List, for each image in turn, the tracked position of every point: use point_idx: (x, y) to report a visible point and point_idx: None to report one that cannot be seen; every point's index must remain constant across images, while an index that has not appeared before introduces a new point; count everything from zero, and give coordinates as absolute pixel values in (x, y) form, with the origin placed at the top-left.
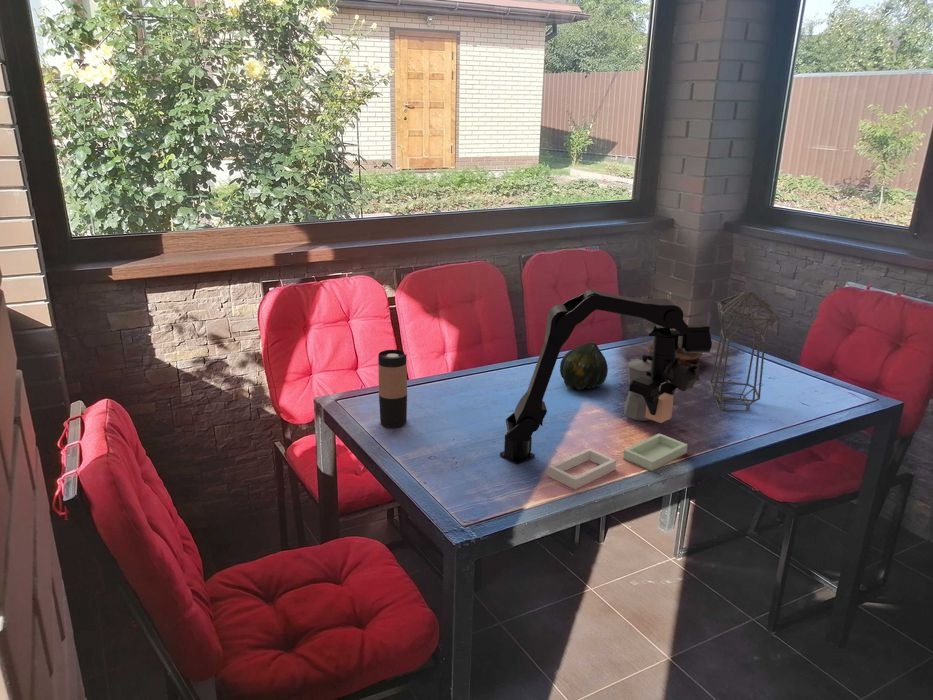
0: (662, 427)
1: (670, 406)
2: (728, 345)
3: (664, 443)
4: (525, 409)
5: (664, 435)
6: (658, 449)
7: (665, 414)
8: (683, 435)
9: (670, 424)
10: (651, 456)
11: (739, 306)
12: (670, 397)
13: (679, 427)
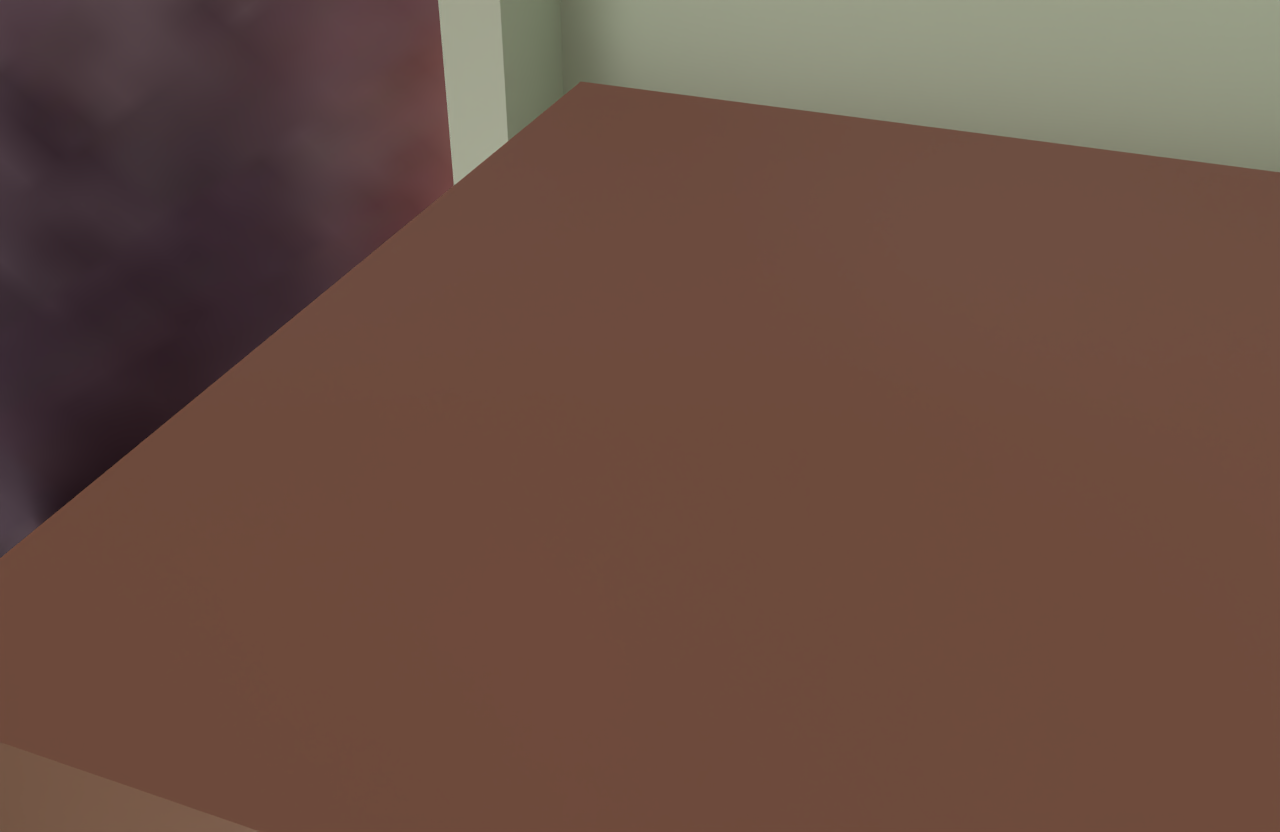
0: (185, 347)
1: (477, 338)
2: None
3: (553, 103)
4: None
5: (455, 183)
6: (764, 86)
7: (949, 252)
8: (113, 52)
9: (59, 310)
10: (1098, 44)
11: None
12: (222, 777)
13: (18, 198)
